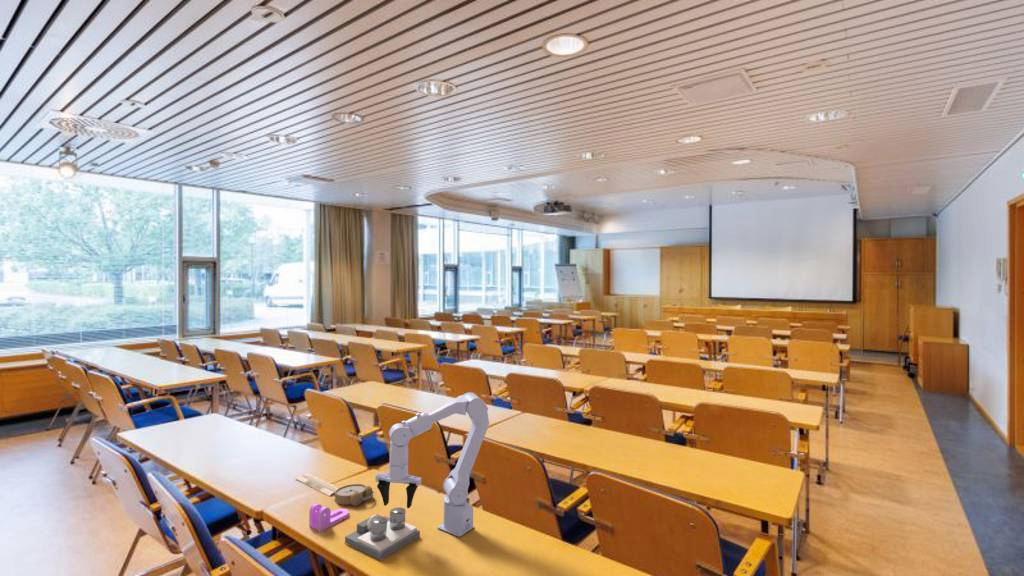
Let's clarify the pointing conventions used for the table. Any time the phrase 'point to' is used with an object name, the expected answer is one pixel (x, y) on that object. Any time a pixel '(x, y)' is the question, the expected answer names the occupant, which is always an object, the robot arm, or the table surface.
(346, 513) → the bracket
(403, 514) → the cylinder
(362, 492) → the alarm clock
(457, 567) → the table surface
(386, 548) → the scale
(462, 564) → the table surface
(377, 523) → the cylinder
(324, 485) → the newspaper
